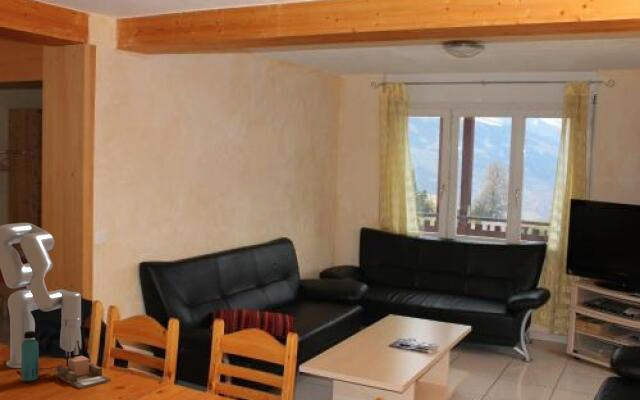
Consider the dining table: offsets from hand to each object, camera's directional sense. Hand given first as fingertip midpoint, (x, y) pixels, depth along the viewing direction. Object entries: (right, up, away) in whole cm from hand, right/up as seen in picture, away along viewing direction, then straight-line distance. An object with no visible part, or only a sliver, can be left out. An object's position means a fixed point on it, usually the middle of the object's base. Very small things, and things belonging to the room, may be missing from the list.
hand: (71, 366), depth 275 cm
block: (+5, -2, -4) cm, 7 cm away
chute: (+7, -3, -7) cm, 11 cm away
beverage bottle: (-12, -3, -13) cm, 17 cm away
